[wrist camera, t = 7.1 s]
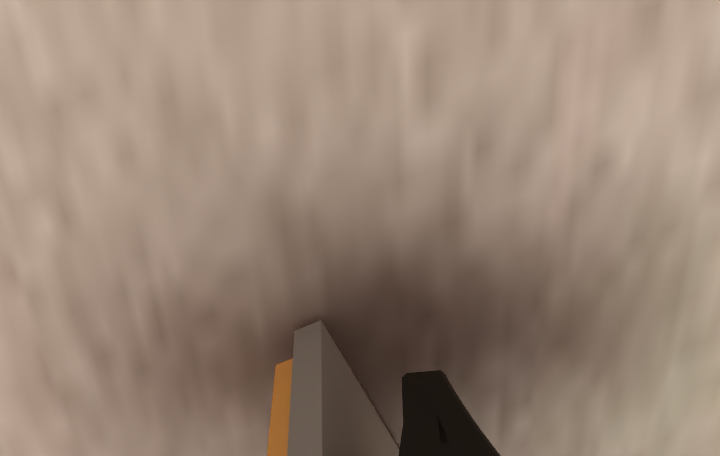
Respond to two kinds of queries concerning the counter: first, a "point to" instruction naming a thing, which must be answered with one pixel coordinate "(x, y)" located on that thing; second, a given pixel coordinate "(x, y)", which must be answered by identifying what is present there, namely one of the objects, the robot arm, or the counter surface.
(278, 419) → the side door
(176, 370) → the counter surface
